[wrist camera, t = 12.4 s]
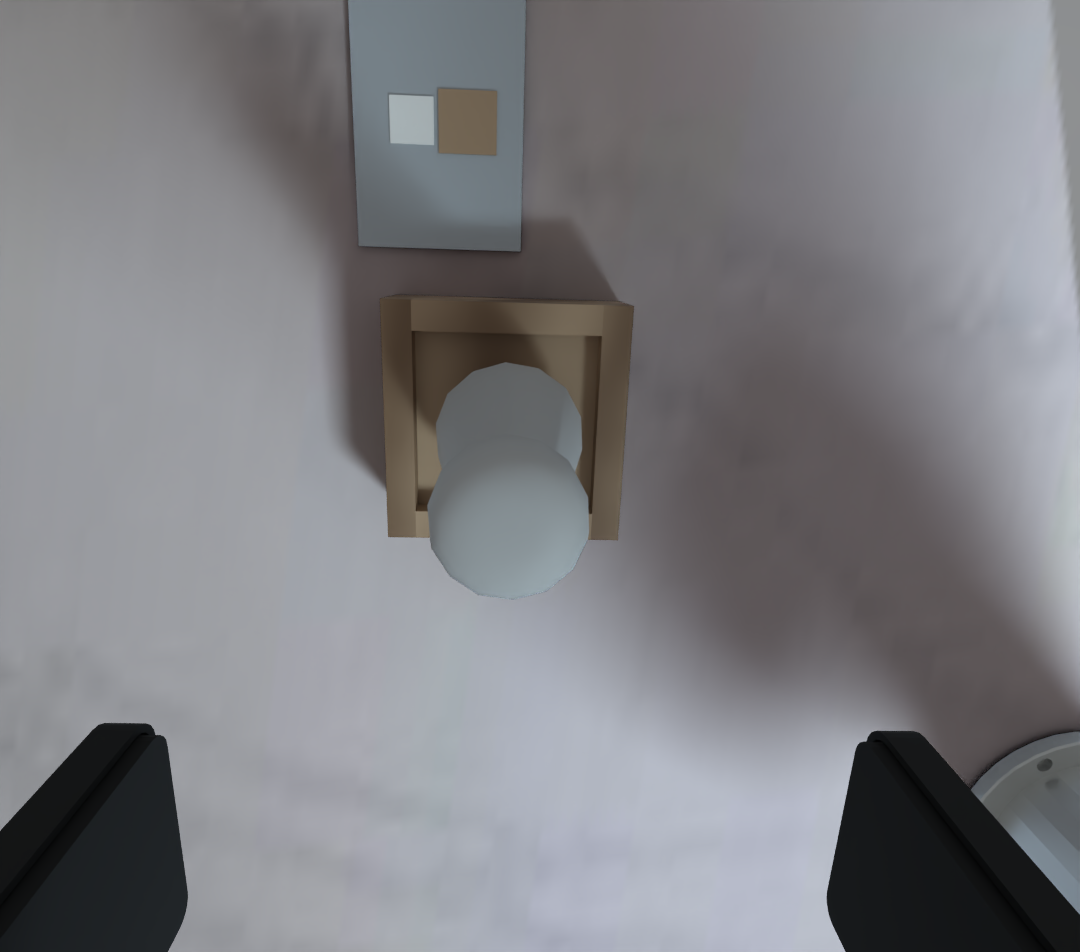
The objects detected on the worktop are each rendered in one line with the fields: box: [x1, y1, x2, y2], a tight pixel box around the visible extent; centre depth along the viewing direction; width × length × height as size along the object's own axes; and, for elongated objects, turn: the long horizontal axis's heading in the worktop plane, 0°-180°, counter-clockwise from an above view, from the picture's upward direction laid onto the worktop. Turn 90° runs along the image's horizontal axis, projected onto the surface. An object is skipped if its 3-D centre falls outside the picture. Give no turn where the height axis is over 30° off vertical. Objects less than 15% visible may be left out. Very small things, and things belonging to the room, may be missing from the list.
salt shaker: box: [427, 362, 589, 600], centre depth 23 cm, size 6×6×13 cm
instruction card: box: [348, 0, 526, 252], centre depth 29 cm, size 7×10×1 cm
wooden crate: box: [380, 295, 634, 540], centre depth 30 cm, size 10×10×4 cm
